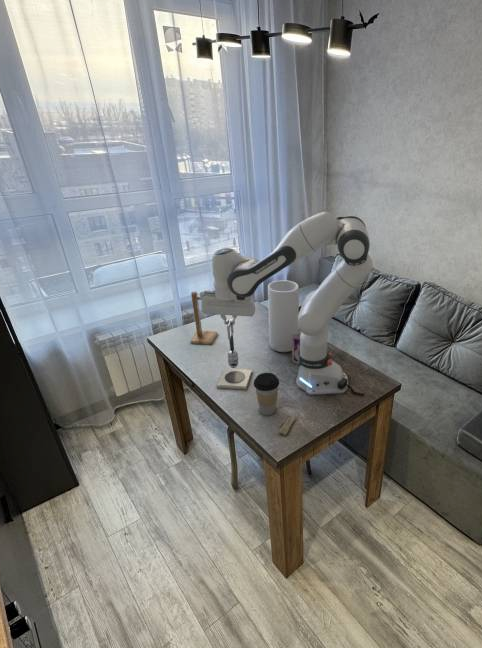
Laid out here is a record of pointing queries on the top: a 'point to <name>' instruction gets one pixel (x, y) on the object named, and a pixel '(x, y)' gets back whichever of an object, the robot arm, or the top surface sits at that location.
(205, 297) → the robot arm
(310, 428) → the top surface
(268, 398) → the coffee cup
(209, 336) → the hook stand
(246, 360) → the top surface
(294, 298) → the vase
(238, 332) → the top surface
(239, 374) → the hot plate
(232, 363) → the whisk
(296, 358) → the greeting card
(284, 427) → the snack bar
